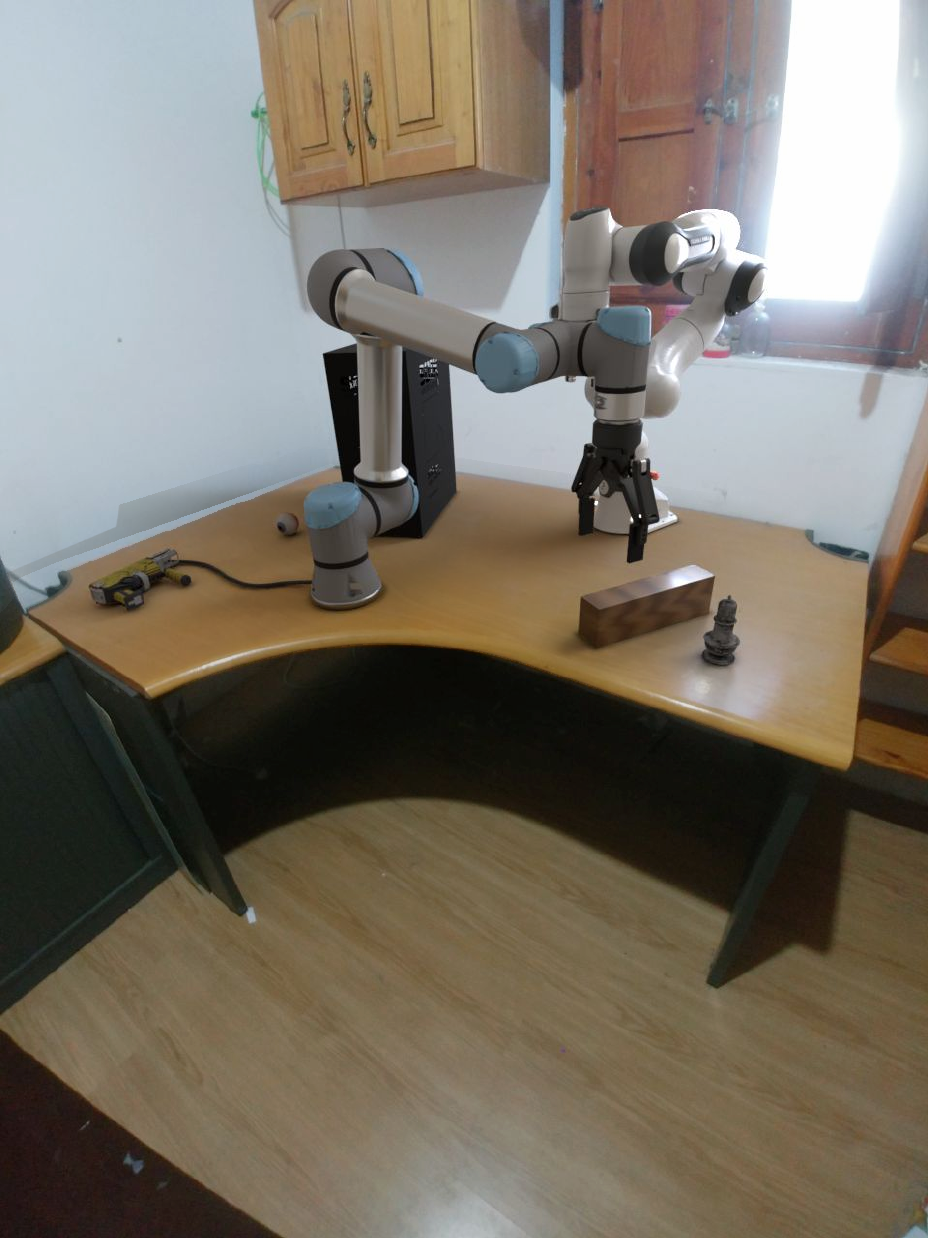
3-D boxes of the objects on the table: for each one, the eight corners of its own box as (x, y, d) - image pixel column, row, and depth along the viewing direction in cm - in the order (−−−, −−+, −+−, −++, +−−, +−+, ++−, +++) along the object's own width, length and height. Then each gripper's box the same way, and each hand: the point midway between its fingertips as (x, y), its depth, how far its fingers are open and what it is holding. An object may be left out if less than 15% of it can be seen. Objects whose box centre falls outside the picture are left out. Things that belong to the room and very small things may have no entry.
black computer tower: (422, 537, 158) (405, 350, 135) (350, 534, 162) (322, 353, 140) (456, 491, 189) (447, 333, 167) (395, 489, 194) (378, 336, 171)
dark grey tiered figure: (739, 667, 101) (752, 604, 95) (702, 664, 102) (713, 602, 96) (733, 648, 106) (745, 587, 100) (697, 646, 107) (708, 585, 101)
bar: (687, 600, 122) (693, 564, 118) (708, 612, 117) (715, 575, 113) (578, 634, 113) (580, 596, 109) (596, 648, 109) (599, 609, 104)
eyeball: (273, 537, 164) (268, 516, 161) (287, 528, 169) (282, 508, 166) (291, 539, 161) (286, 518, 158) (305, 530, 166) (301, 510, 163)
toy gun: (215, 556, 146) (165, 546, 150) (137, 598, 126) (82, 584, 130) (218, 574, 148) (168, 563, 152) (142, 617, 128) (87, 603, 132)
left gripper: (553, 409, 101) (551, 528, 112) (653, 438, 81) (638, 579, 92) (590, 403, 104) (584, 520, 114) (695, 430, 84) (677, 568, 94)
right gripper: (632, 308, 108) (627, 389, 115) (571, 305, 125) (569, 376, 132) (603, 311, 106) (599, 394, 113) (544, 308, 123) (544, 380, 130)
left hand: (608, 547), depth 103 cm, fingers open, 13 cm apart
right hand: (583, 384), depth 123 cm, fingers open, 8 cm apart
